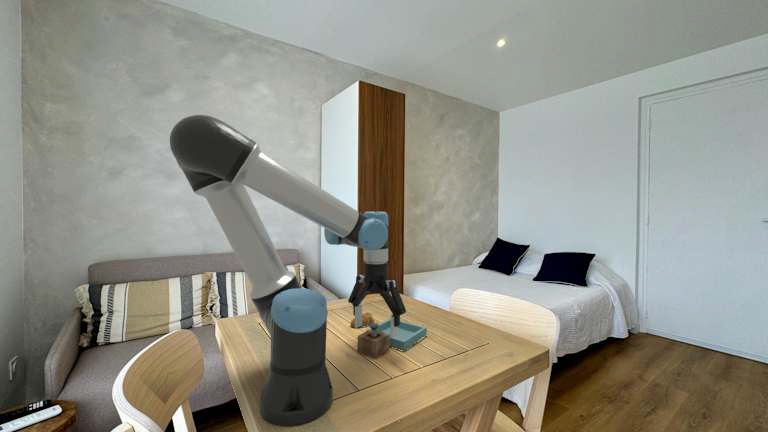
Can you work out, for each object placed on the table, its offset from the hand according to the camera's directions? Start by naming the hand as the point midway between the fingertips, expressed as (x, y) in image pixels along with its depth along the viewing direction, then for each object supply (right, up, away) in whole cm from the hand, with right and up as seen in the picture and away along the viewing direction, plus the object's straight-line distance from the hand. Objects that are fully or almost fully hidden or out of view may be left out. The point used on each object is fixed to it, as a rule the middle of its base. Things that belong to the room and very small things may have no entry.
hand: (375, 331), depth 89 cm
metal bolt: (-1, -6, 0) cm, 6 cm away
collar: (-1, -6, 0) cm, 6 cm away
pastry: (-5, -6, +22) cm, 24 cm away
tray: (+7, -6, +10) cm, 14 cm away
